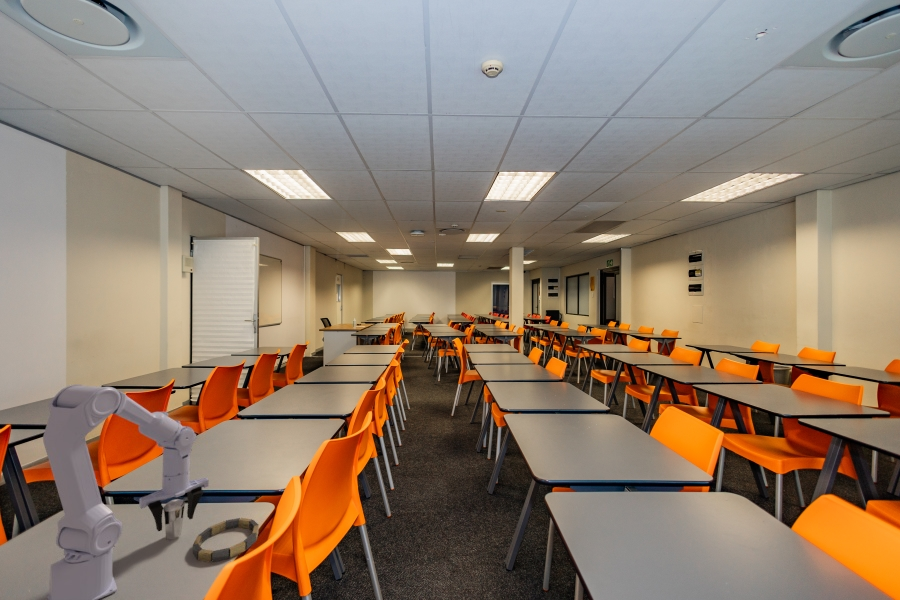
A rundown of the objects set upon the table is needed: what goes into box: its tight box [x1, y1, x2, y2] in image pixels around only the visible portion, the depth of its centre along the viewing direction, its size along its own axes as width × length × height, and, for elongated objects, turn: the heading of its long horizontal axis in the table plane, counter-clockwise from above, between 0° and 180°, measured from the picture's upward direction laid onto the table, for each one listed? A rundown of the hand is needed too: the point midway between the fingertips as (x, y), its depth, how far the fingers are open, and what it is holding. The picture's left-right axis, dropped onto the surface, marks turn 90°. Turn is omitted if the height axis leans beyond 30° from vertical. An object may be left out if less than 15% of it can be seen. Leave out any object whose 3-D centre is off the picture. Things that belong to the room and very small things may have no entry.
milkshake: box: [163, 498, 186, 541], centre depth 95 cm, size 5×5×10 cm
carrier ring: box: [192, 517, 260, 563], centre depth 93 cm, size 14×14×2 cm
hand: (175, 523), depth 95 cm, fingers open, 6 cm apart
